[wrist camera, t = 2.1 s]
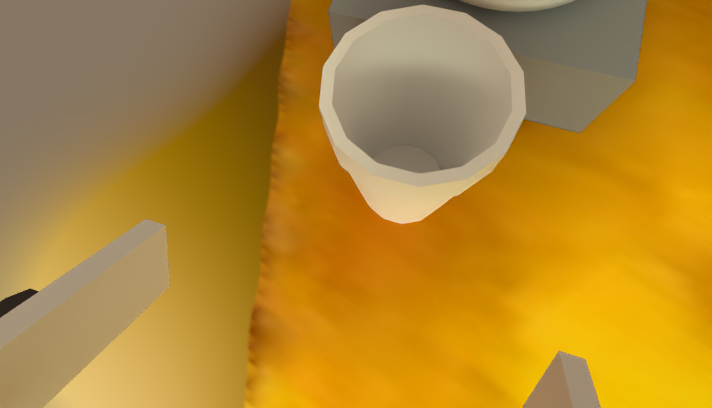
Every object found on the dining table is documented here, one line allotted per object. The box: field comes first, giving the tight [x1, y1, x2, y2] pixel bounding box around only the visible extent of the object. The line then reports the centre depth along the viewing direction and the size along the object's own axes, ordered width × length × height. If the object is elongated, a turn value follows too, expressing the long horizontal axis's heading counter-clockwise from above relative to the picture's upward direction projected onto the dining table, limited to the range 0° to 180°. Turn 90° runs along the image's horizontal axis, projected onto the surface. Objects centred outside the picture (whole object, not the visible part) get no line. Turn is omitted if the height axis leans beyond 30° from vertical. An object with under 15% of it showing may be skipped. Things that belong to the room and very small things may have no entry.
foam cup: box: [319, 5, 526, 224], centre depth 24 cm, size 10×9×13 cm
